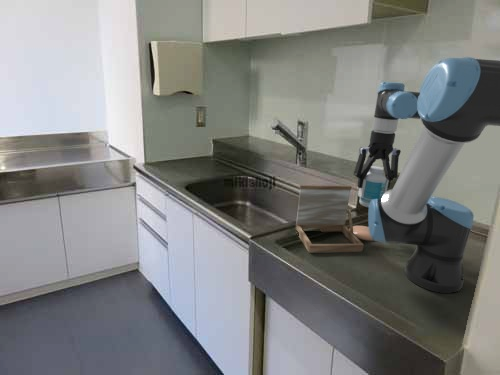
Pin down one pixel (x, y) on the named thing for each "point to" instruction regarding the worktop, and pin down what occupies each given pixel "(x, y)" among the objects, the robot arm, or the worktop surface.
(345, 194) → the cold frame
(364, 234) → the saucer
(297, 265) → the worktop surface
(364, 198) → the pill bottle
